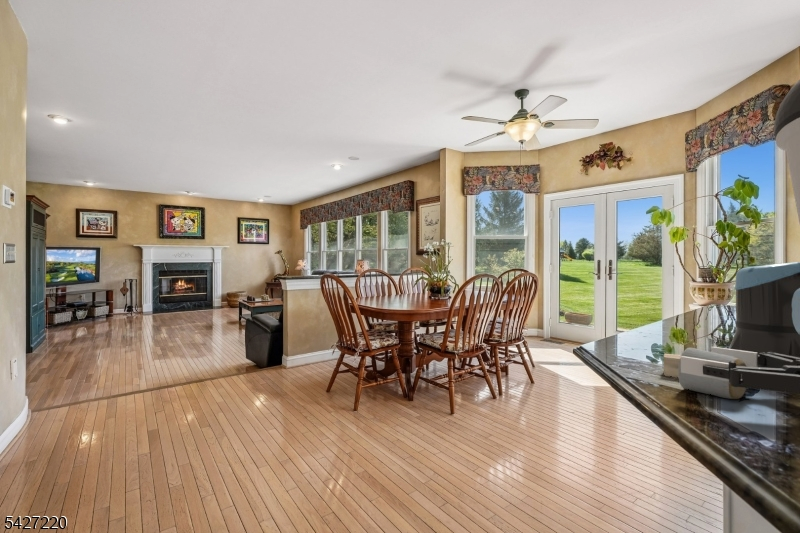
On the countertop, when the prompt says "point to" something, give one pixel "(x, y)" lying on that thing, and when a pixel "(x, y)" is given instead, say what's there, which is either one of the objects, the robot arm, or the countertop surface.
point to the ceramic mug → (710, 384)
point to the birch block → (671, 364)
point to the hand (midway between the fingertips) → (697, 358)
